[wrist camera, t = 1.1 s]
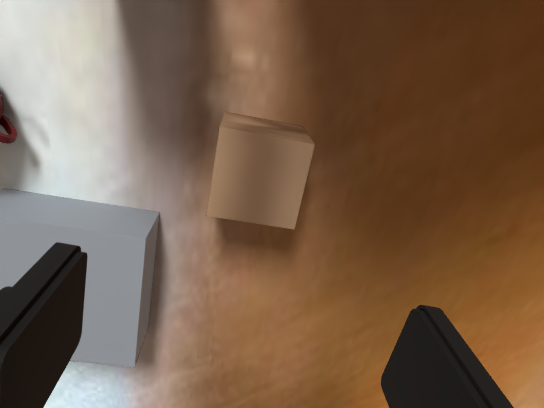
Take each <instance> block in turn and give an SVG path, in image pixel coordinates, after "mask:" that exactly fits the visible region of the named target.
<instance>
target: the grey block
mask: <svg viewBox="0 0 544 408" xmlns="http://www.w3.org/2000/svg"><path fill="white" fill-rule="evenodd" d="M159 214H160V212H156V211H149V210H143V209H136V208H130V207H123V206H117V205H110V204H104V203H97V202H91V201H84V200H77V199H71V198H64V197H58V196H51V195H45V194H38V193H32V192H25V191H19V190H12V189H6V188H2V189H1V190H0V290H1V289H2V288H4V287H7V286H10V287H13V286H14V285H15V284H16V283H17V282H18V281H19V280H20V278H21V277H22V276H23V275H24V274H25V273H26V272H27V271H28V270H29V269H30V268H31V267H32V266H33V265H34V264H35V263H36V262H37V261H38V260H39V259H40V258H41V257H42V256H43V255H44V254H45V253H46V252H47V251H48V250H49V249H50V248H51V247H52V246H53V245H54V244H55V243H56V242H60V243H66V244H71V245H77V246H80V247H81V252H85V253H87V271H86V284H85V298H84V311H83V324H82V335H81V339H80V342H79V344H78V347H77V349H76V350H75V352H74V354H73V356H72V357H71V359H70V361H77V362H87V363H96V364H106V365H116V366H126V367H135V365H136V362H137V359H138V356H139V353H140V350H141V348H142V345H143V342H144V339H145V336H146V333H147V330H148V324H149V314H150V304H151V294H152V284H153V274H154V264H155V254H156V244H157V234H158V224H159Z"/></svg>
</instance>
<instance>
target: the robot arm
mask: <svg viewBox="0 0 544 408" xmlns="http://www.w3.org/2000/svg"><path fill="white" fill-rule="evenodd" d="M86 271H87V253H85V252H81V247H80V246H77V245H71V244H66V243H60V242H56V243H55V244H54V245H53V246H52V247H51V248H50V249H49V250H48V251H47V252H46V253H45V254H44V255H43V256H42V257H41V258H40V259H39V260H38V261H37V262H36V263H35V264H34V265H33V266H32V267H31V268H30V269H29V270H28V271H27V272H26V273H25V274H24V275H23V276H22V277H21V278H20V280H19V281H18V282H17V283H16V284H15V285H14V286H13V287H10V286H7V287H4V288H2V289H1V290H0V408H43V407H44V405H45V403H46V402H47V400H48V398H49V396H50V395H51V393H52V391H53V389H54V387H55V386H56V384H57V382H58V380H59V379H60V377H61V375H62V373H63V372H64V370H65V368H66V366H67V364H68V363H69V361H70V359H71V357H72V356H73V354H74V352H75V350H76V349H77V347H78V344H79V342H80V339H81V335H82V324H83V311H84V298H85V284H86ZM381 386H382V390H383V393H384V395H385V398H386V400H387V403H388V405H389V408H514V407H513V406H512V405H511V403H510V402H509V401H508V399H507V398H506V397H505V395H504V394H503V392H502V391H501V390H500V388H499V387H498V386H497V384H496V383H495V382H494V380H493V379H492V378H491V376H490V375H489V373H488V372H487V371H486V369H485V368H484V367H483V365H482V364H481V363H480V361H479V360H478V359H477V357H476V356H475V354H474V353H473V352H472V350H471V349H470V348H469V346H468V345H467V344H466V342H465V341H464V339H463V338H462V337H461V335H460V334H459V333H458V331H457V330H456V329H455V327H454V326H453V325H452V323H451V322H450V320H449V319H448V318H447V316H446V315H445V314H444V312H443V311H442V310H441V309H440V308H436V307H431V306H425V305H419V306H418V307H417V308H416V309H412V310H411V312H410V314H409V316H408V318H407V320H406V323H405V325H404V327H403V329H402V332H401V334H400V336H399V338H398V341H397V343H396V345H395V347H394V350H393V352H392V354H391V356H390V359H389V361H388V363H387V365H386V368H385V370H384V372H383V374H382V378H381Z"/></svg>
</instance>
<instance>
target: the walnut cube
mask: <svg viewBox="0 0 544 408" xmlns="http://www.w3.org/2000/svg"><path fill="white" fill-rule="evenodd" d="M314 147H315V144H314V142H313V141H312V139H311V138H310V136H309V135H308V133H307V132H306V130H305V129H304V127H303V126H298V125H293V124H288V123H282V122H277V121H272V120H267V119H261V118H256V117H251V116H246V115H240V114H235V113H230V112H225V113H224V116H223V119H222V121H221V124H220V127H219V134H218V141H217V148H216V154H215V161H214V168H213V175H212V181H211V188H210V195H209V201H208V208H207V215H206V216H211V217H217V218H223V219H230V220H236V221H243V222H249V223H255V224H262V225H268V226H275V227H281V228H287V229H295V225H296V221H297V217H298V213H299V208H300V204H301V200H302V196H303V192H304V188H305V184H306V180H307V175H308V171H309V167H310V163H311V159H312V155H313V151H314Z"/></svg>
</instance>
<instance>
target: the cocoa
mask: <svg viewBox="0 0 544 408" xmlns="http://www.w3.org/2000/svg"><path fill="white" fill-rule="evenodd" d="M0 125H2V126H3V127H4V129H5V130H6V131H7V133H8V134H9V135H5V134H2V133H0V142H2V143H12V142H14V141H15V140H16V137H17V131H16V129H15V128H14V126H13V125H12V123H11V122H10V121H9V120H8V119H7V117H6V116H5V115H3V102H2V94H1V92H0Z"/></svg>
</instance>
